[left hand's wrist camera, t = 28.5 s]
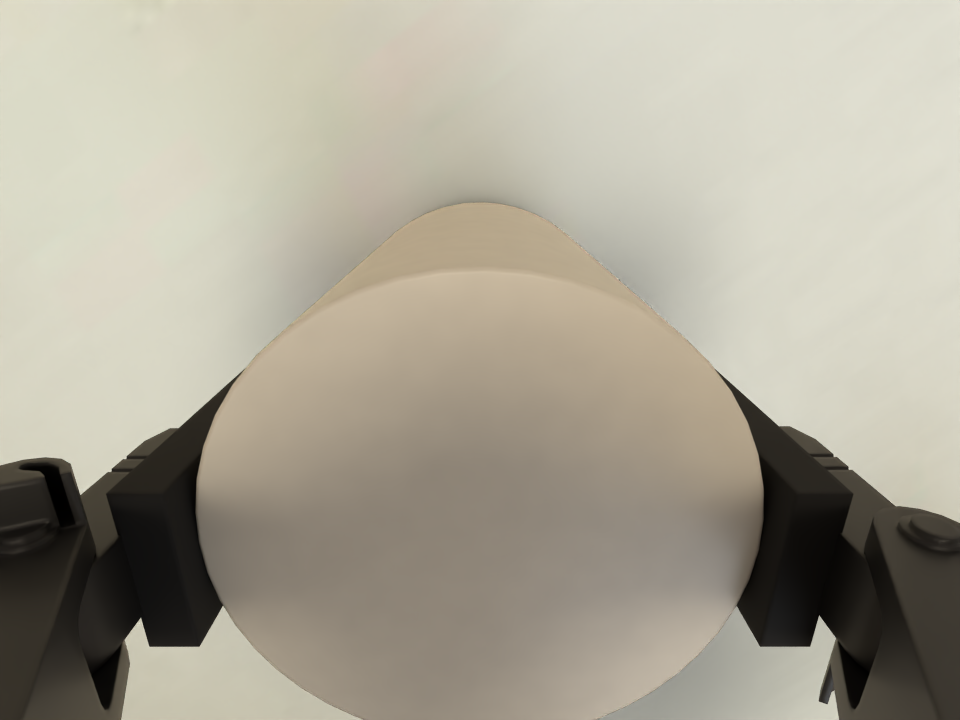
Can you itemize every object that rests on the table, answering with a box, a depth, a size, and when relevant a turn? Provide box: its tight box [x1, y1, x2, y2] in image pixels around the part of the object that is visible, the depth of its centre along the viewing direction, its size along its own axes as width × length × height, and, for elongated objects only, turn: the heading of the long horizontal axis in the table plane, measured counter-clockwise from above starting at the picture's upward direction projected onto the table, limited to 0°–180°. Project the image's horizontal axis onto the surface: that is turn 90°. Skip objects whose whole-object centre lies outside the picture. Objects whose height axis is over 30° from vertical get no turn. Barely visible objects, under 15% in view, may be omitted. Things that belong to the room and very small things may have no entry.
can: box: [195, 202, 764, 720], centre depth 13 cm, size 8×8×10 cm
